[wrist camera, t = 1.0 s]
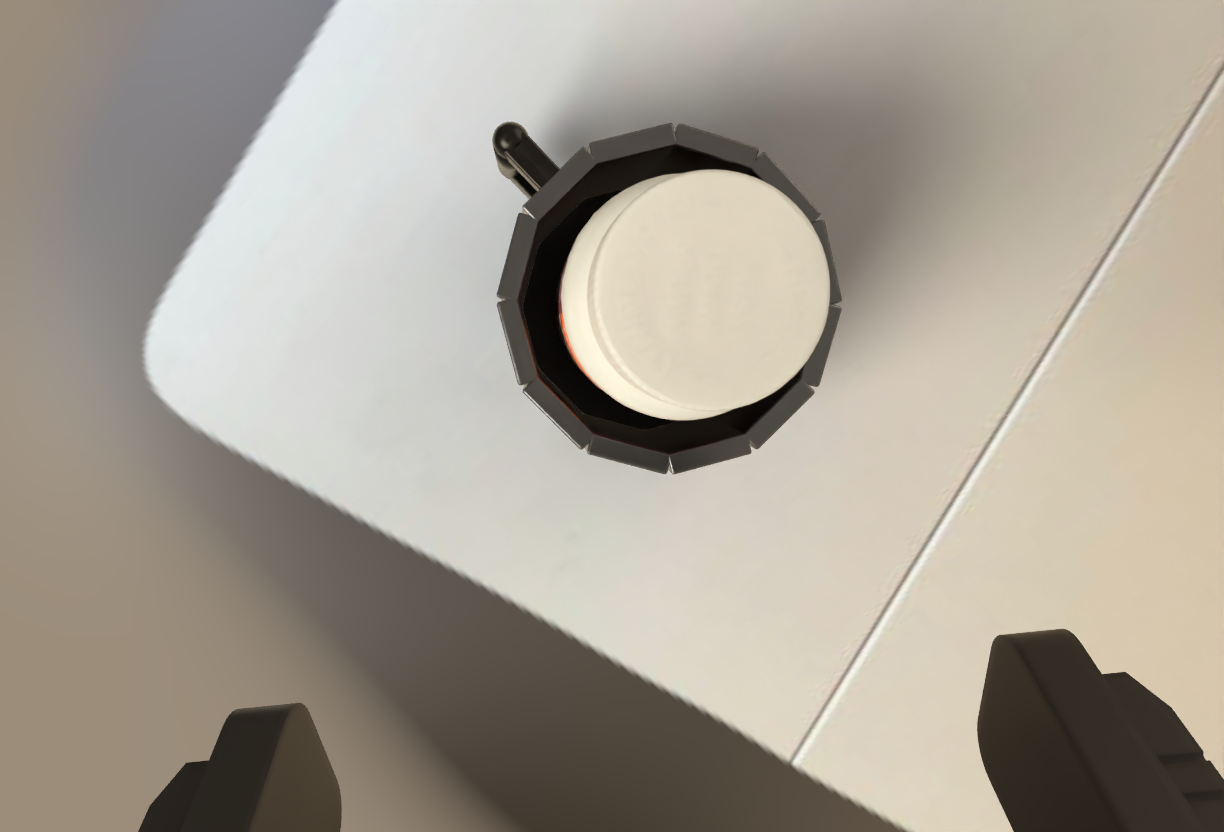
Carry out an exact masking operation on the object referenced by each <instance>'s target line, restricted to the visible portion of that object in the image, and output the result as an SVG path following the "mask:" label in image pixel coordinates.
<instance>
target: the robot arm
mask: <svg viewBox="0 0 1224 832" xmlns="http://www.w3.org/2000/svg"><path fill="white" fill-rule="evenodd" d="M977 732H978V742H979V748H980V753H981V757H982V760H983V764H984V767H985V770H986V773H987V775H988V777H989V780H990V782H991V784H992V786H993V788H994V790H995V793H996V795H997V797H998V799H999V801H1000V803H1001V805H1002V807H1003V810H1004V812H1005V814H1006V816H1007V818H1008V820H1009V822H1010V825H1011V827H1012V829H1013V831H1014V832H1224V779H1223V778H1222V777H1221V775H1220V774H1219V772H1218V771H1217V770H1216V768H1215V767H1214V766H1213V764H1212V763H1211V761H1206V760H1205V758H1204V756H1203V750H1202V749H1201V748H1200V746H1199V745H1198V744H1197V742H1196V741H1195V739H1194V738H1193V737H1192V735H1191V734H1190V733H1189V731H1188V730H1187V728H1186V727H1185V726H1184V724H1183V723H1182V722H1181V720H1180V719H1179V717H1178V716H1177V715H1176V713H1175V712H1174V711H1173V709H1172V708H1171V707H1170V706H1169V705H1167V704H1166V703H1165V702H1163V701H1162V700H1161V699H1160V698H1158V697H1157V696H1156V695H1154V694H1153V693H1152V692H1151V691H1149V690H1148V689H1147V688H1145V687H1144V686H1143V685H1141V684H1140V683H1139V682H1138V681H1136V680H1135V679H1134V678H1132V677H1131V676H1130V675H1129V674H1127V673H1126V672H1121V673H1111V674H1101V672H1100V671H1099V669H1098V668H1097V666H1096V665H1095V663H1094V662H1093V660H1092V659H1091V657H1090V656H1089V654H1088V653H1087V651H1086V650H1085V648H1084V647H1083V645H1082V644H1081V643H1080V641H1079V640H1078V639H1077V637H1076V636H1075V635H1074V634H1073V633H1071V632H1070V631H1068V630H1066V629H1056V630H1046V631H1036V632H1026V633H1016V634H1007V635H999V636H997V637H996V638H995V639H994V641H993V643H992V647H991V652H990V657H989V663H988V668H987V673H986V679H985V684H984V689H983V695H982V700H981V705H980V711H979V716H978V723H977ZM340 828H341V796H340V789H339V785H338V782H337V779H336V776H335V774H334V771H333V769H332V767H331V764H330V762H329V759H328V757H327V754H326V752H325V750H324V747H323V745H322V742H321V740H320V737H319V735H318V733H317V730H316V728H315V725H314V723H313V720H312V718H311V715H310V713H309V711H308V709H307V708H306V707H305V705H303V704H302V703H295V704H285V705H275V706H264V707H254V708H244V709H237V710H235V711H233V712H232V713H231V714H230V715H229V716H228V718H227V719H226V721H225V723H224V725H223V727H222V730H221V732H220V735H219V737H218V740H217V742H216V745H215V747H214V750H213V752H212V755H211V757H210V760H209V761H201V762H190V763H186V764H185V765H184V766H183V767H182V769H181V770H180V771H179V772H178V773H177V775H176V776H175V777H174V778H173V779H172V780H171V782H170V783H169V784H168V785H167V786H166V787H165V789H164V790H163V791H162V792H161V793H160V795H159V796H158V797H157V798H156V799H155V800H154V802H153V803H152V804H151V805H150V807H149V809H148V811H147V813H146V816H145V818H144V820H143V822H142V824H141V827H140V829H139V831H138V832H340Z"/></svg>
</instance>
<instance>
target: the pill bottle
mask: <svg viewBox="0 0 1224 832" xmlns="http://www.w3.org/2000/svg"><path fill="white" fill-rule="evenodd" d="M829 300H830V278H829V269H828V264H827V260H826V256H825V252H824V250H823V247H822V244H821V242H820V240H819V237H818V235H817V233H816V232H815V230H814V228H813V226H812V224H811V223H810V221H809V220H808V218H807V217H806V216H805V214H804V213H803V212H802V211H801V210H800V209H799V207H798V206H797V205H796V204H795V203H794V202H793V201H792V200H791V199H789V198H788V197H787V196H786V195H784V194H783V193H782V192H781V191H779V190H778V189H776V188H775V187H773V186H772V185H770V184H768V183H766V182H764V181H762V180H760V179H757V178H755V177H753V176H749V175H746V174H742V173H738V172H734V171H728V170H716V169H711V170H697V171H691V172H686V173H679V174H668V175H662V176H658V177H654V178H650V179H647V180H644V181H642V182H639V183H637V184H635V185H633V186H631V187H629V188H627V189H625V190H623V191H622V192H620V193H619V194H617V195H616V196H614V197H612V198H611V199H610V200H609V201H607V202H606V203H605V204H604V205H603V206H602V207H601V208H600V209H599V210H598V211H596V212H595V213H594V214H593V215H592V217H591V218H590V220H589V221H588V223H587V224H586V225H585V226H584V227H583V229H582V230H581V232H580V233H579V235H578V236H577V238H576V240H575V242H574V243H573V246H572V249H571V251H570V253H569V255H568V258H567V260H566V261H565V264H564V266H563V268H562V271H561V274H560V277H559V280H558V284H557V288H556V294H555V319H556V325H557V330H558V333H559V336H560V339H561V342H562V344H563V347H564V349H565V351H566V352H567V354H568V356H569V358H570V359H571V361H572V362H573V364H574V365H575V366H576V367H577V369H578V370H579V371H580V372H581V373H582V374H583V375H584V376H585V377H586V378H587V379H589V380H590V381H591V382H592V383H593V384H594V385H595V386H597V387H598V388H599V389H601V390H603V391H604V392H606V393H607V394H608V395H610V396H611V397H612V398H613V399H615V400H616V401H618V402H619V403H621V404H623V405H624V406H626V407H628V408H630V409H633V410H635V411H638V412H640V413H643V414H646V415H649V416H653V417H657V418H662V419H669V420H697V419H703V418H708V417H713V416H716V415H719V414H723V413H725V412H728V411H730V410H732V409H735V408H739V407H743V406H746V405H749V404H752V403H755V402H757V401H759V400H761V399H763V398H765V397H767V396H769V395H770V394H772V393H774V392H775V391H777V390H778V389H780V388H781V387H782V386H783V385H785V384H786V383H787V382H788V381H789V380H790V379H792V378H793V377H794V376H795V375H796V374H797V373H798V371H799V370H800V369H801V368H802V367H803V366H804V364H805V363H806V362H807V361H808V359H809V357H810V356H811V354H812V352H813V351H814V349H815V347H816V345H817V343H818V341H819V339H820V337H821V335H822V332H823V330H824V327H825V324H826V320H827V315H828V309H829Z"/></svg>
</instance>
